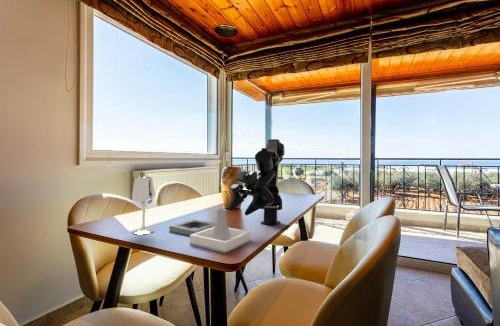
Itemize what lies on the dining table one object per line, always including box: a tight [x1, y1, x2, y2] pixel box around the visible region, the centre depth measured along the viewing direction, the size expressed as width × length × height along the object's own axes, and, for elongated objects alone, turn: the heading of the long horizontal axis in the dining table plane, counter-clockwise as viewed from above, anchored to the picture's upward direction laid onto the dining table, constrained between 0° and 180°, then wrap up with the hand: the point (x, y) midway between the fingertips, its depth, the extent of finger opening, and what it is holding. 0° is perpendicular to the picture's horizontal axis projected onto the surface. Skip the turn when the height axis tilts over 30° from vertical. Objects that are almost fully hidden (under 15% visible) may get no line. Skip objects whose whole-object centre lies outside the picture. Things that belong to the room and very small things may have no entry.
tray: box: [189, 227, 252, 254], centre depth 85 cm, size 14×14×3 cm
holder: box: [168, 219, 216, 237], centre depth 99 cm, size 13×13×2 cm
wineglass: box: [131, 176, 156, 235], centre depth 96 cm, size 8×8×20 cm
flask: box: [211, 208, 231, 241], centre depth 85 cm, size 7×7×10 cm
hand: (237, 212), depth 89 cm, fingers open, 9 cm apart
